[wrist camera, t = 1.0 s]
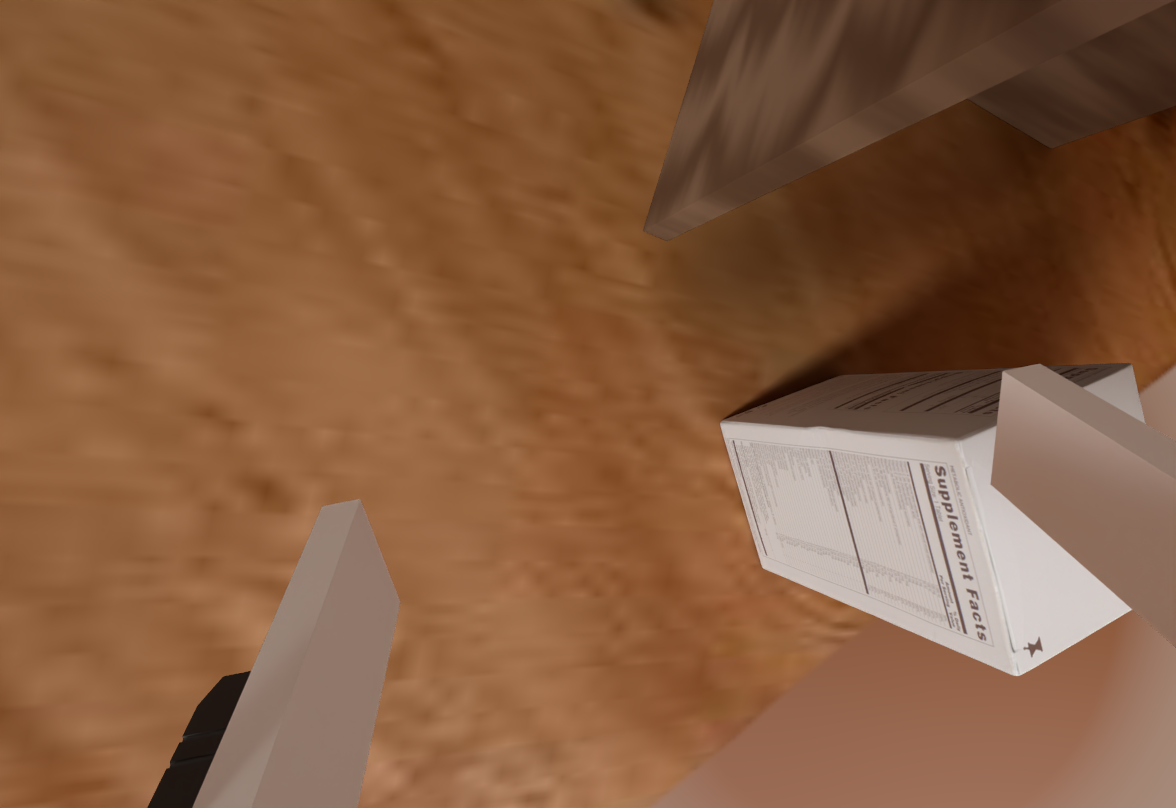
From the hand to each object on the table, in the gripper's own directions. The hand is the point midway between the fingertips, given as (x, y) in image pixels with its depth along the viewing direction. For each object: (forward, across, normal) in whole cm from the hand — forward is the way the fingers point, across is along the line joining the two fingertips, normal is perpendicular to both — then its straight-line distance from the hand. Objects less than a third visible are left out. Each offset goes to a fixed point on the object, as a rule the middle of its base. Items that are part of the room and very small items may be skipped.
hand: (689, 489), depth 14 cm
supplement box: (+22, +10, -16) cm, 29 cm away
